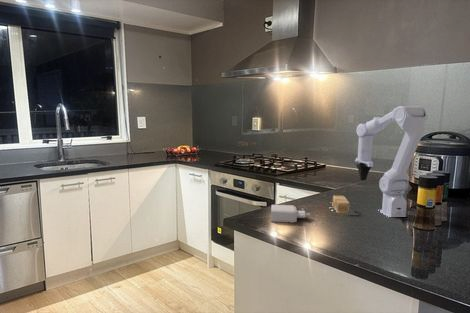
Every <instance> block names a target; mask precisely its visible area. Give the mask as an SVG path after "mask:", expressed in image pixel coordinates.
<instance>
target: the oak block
mask: <svg viewBox="0 0 470 313" xmlns="http://www.w3.org/2000/svg"><path fill="white" fill-rule="evenodd" d="M331 203H332V206H333V207H334V209H335V210H336V212H337V213H348V211H349V207H350V201H348V199H347V198H346V197H345V195H333V196H332V202H331Z"/></svg>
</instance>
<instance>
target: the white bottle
mask: <svg viewBox="0 0 470 313" xmlns="http://www.w3.org/2000/svg"><path fill="white" fill-rule="evenodd" d="M270 209H271V210H270V222H272V223H288V222H290V223H291V224H294V222H295V223H297V221H298V219H305V218H306V216H310V217H311V212H306V211H305V210H297V207H296V206H295V205H292V204H291V205H289V204H288V205H287V204H286V205H285V204H271V208H270Z"/></svg>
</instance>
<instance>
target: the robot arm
mask: <svg viewBox="0 0 470 313" xmlns="http://www.w3.org/2000/svg"><path fill="white" fill-rule="evenodd" d="M427 118H428V114H427V111H426V109H425V108H424V106H421V105H418V106H407V105H406V106H404V105H399V106H397V107H395V108H393V110H392V111H390V112H389V113H387V114H385V115H383V116H382V117H381V116H374V117H373V119H371V120H368V121H366V123H359V124H358V125H357V126H356V130H355V131H356V134H357V136H358V143H357V144H358V145H357V146H358V147H357V157H355V159H354V162H356V164H355V165H356V167H357V170H358V174H359V175H358V176H359V179H360V180H361V181H366V180H367V178H368V174H369V172H370V170H371V169H372V167H374V162H373V161H372V150H373V148H372V147H373V141H374V139H375V135H376V133H378V132H381V131H383V130H384V129H385V128H386V127H387V125H389V124H392V123H394V122H396V123H397V125H398V126H399V127H400V129H401V130H402V131H403V132H404V135H403V138H402V140H401V142H400V146H399V149H398V151H397V153H396V155H395V158H394V161H393V164H392V165H391V168H390V169H388V170H387V171H386V172H384V174H383V175H382V177H381V178H380V179H379V182H378V186H379V189H380V191H381V193H382V205H381V206H382V208H381V209H377V211H378V212H379V210H380V212H379V213H381V214H382V213H383V214H382V215H384V216H385V215H386V216H385V217H387V216H388V217H387V218H389V217H406V216H407V206H408V205H407V204H408V203H407V200H406V198H405V196H404V194H405V191H407V190H408V189H409V180H411V179H410V176H409V174H408V173H407V172H408V171H409V170H408V169H409V167H410V164H411V162H412V160H413V158H414V155H415V153H416V150H417V149H418V146H419V144H420V141H421V138H422V136H423V134H424V128H425V124H426V121H427Z"/></svg>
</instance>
